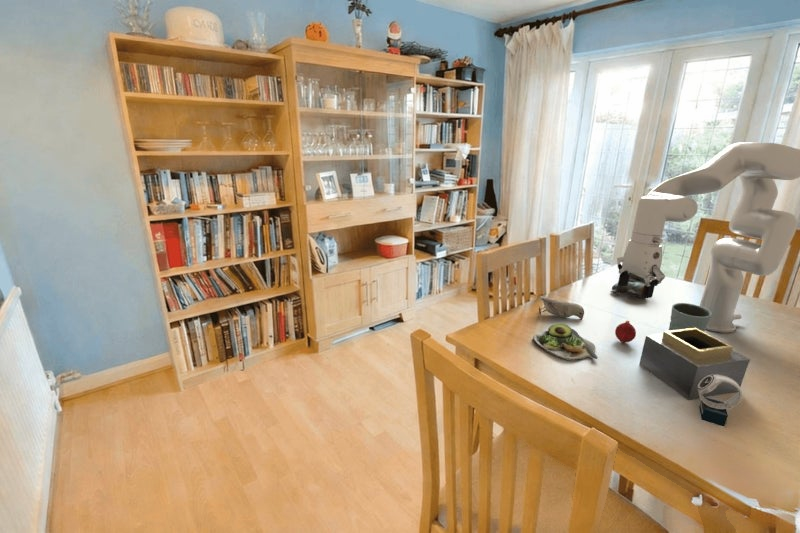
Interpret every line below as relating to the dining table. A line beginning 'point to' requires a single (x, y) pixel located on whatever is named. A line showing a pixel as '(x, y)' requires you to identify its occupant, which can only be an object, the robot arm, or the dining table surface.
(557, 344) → the salad plate
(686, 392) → the housing
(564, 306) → the decorative bird
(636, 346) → the dining table surface
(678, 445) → the dining table surface
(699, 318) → the grey-green pot
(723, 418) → the watch
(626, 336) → the onion
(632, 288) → the dark grey lumpy piece
